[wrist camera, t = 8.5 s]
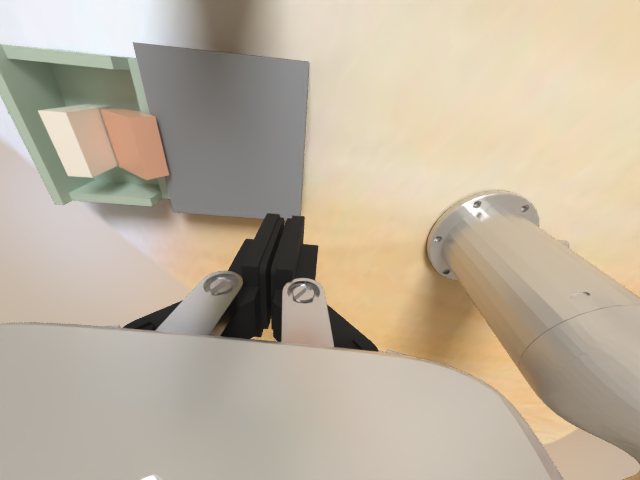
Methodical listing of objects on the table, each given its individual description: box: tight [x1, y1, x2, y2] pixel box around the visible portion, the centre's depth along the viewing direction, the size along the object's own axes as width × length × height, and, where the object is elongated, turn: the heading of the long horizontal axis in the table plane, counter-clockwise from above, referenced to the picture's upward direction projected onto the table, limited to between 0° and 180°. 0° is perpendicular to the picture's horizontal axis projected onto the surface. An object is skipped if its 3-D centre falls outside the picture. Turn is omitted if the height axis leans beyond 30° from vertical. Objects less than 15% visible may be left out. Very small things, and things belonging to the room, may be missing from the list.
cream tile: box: [38, 104, 119, 178], centre depth 23 cm, size 5×5×2 cm
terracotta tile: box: [100, 108, 169, 180], centre depth 23 cm, size 5×5×2 cm
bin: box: [0, 44, 170, 206], centre depth 23 cm, size 9×12×5 cm
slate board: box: [133, 42, 309, 221], centre depth 25 cm, size 13×14×3 cm
